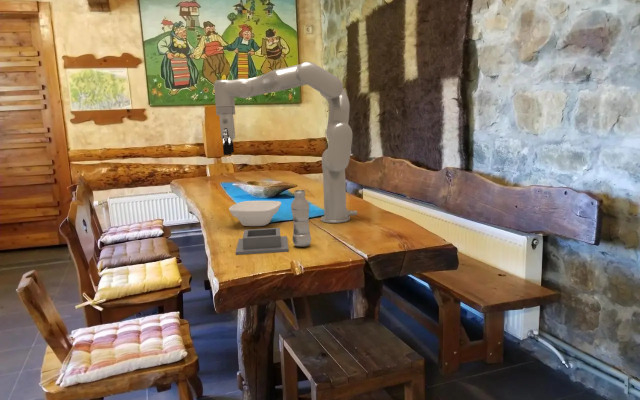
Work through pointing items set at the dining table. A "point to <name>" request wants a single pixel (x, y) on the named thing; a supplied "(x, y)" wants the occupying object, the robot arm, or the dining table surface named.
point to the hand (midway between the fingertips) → (228, 153)
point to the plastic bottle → (300, 219)
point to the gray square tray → (262, 241)
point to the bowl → (255, 212)
